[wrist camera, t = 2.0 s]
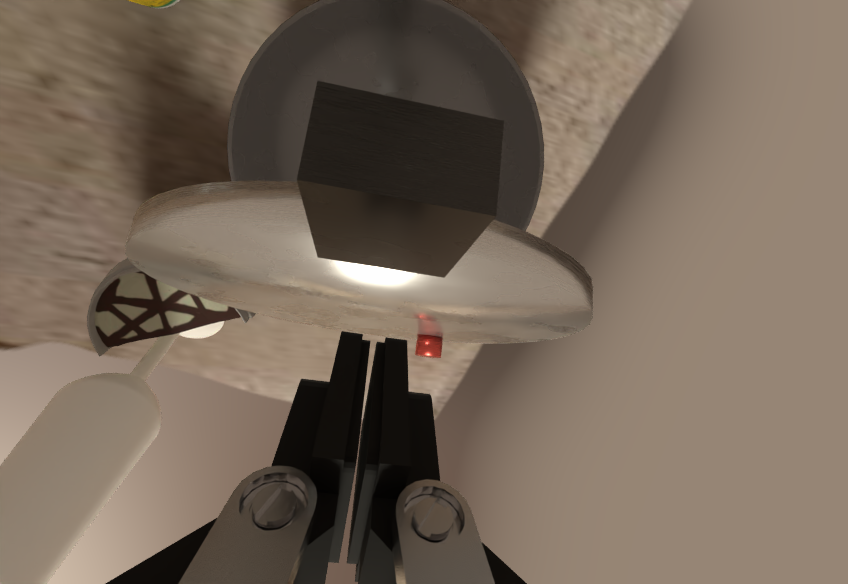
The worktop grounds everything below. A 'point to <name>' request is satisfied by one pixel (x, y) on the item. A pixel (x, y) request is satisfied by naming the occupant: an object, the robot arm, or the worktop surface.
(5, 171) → the worktop surface
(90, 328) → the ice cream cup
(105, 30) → the worktop surface
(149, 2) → the supplement bottle
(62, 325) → the worktop surface
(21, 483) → the champagne flute
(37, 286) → the worktop surface
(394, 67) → the cooker pot
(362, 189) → the cooker lid
